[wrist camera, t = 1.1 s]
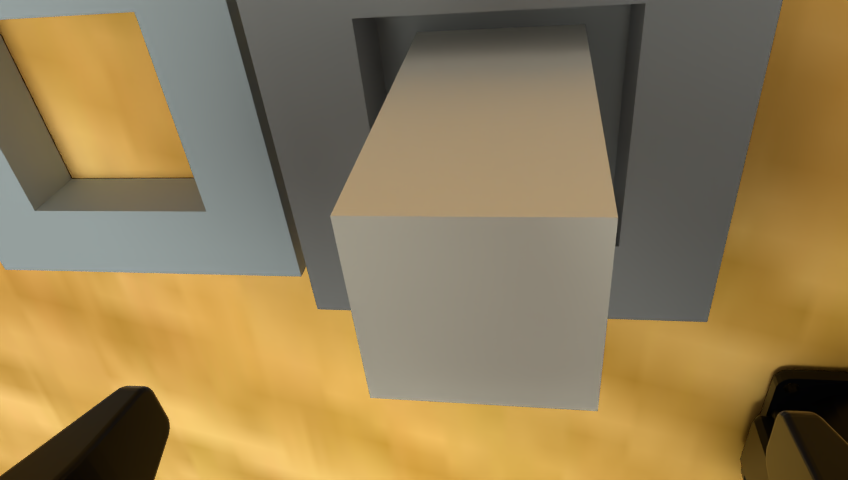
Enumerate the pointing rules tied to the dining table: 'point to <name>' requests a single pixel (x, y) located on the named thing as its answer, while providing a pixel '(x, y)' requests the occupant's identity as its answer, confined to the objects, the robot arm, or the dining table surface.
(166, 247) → the low dock
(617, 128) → the raised dock
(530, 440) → the dining table surface
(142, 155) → the dining table surface
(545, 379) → the plug
